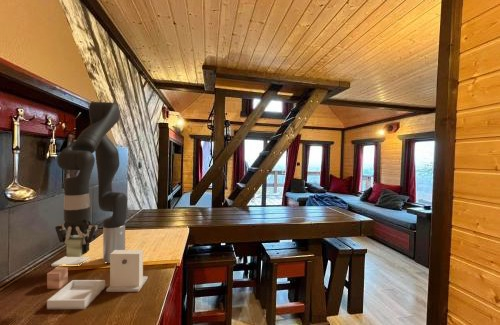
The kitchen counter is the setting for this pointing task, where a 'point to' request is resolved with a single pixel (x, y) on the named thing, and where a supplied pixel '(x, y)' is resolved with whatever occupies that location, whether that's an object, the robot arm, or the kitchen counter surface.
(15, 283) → the kitchen counter surface
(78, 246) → the sage block
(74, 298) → the tray
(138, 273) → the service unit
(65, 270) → the terracotta block
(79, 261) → the external hard drive
